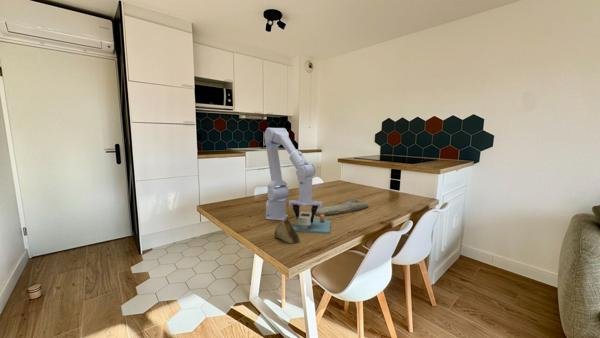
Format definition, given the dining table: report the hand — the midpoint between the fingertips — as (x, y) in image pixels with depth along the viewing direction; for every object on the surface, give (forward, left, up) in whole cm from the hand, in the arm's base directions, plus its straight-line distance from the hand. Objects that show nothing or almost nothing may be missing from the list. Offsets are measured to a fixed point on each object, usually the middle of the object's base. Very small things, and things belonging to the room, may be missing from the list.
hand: (305, 221), depth 112 cm
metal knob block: (0, 0, -3) cm, 3 cm away
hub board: (+3, +2, -3) cm, 5 cm away
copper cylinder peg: (+7, +7, -3) cm, 10 cm away
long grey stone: (+16, +29, -3) cm, 33 cm away
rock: (-6, -13, -3) cm, 15 cm away
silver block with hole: (0, 0, 0) cm, 0 cm away
